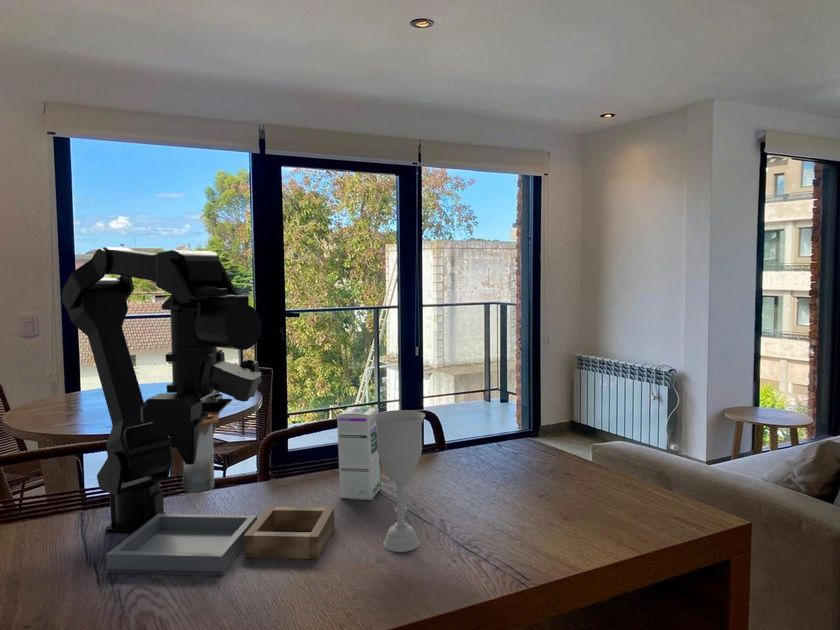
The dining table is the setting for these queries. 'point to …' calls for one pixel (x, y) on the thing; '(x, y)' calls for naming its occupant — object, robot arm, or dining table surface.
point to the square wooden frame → (289, 533)
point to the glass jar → (202, 458)
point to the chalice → (400, 466)
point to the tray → (182, 545)
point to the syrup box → (358, 453)
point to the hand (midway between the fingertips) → (197, 458)
